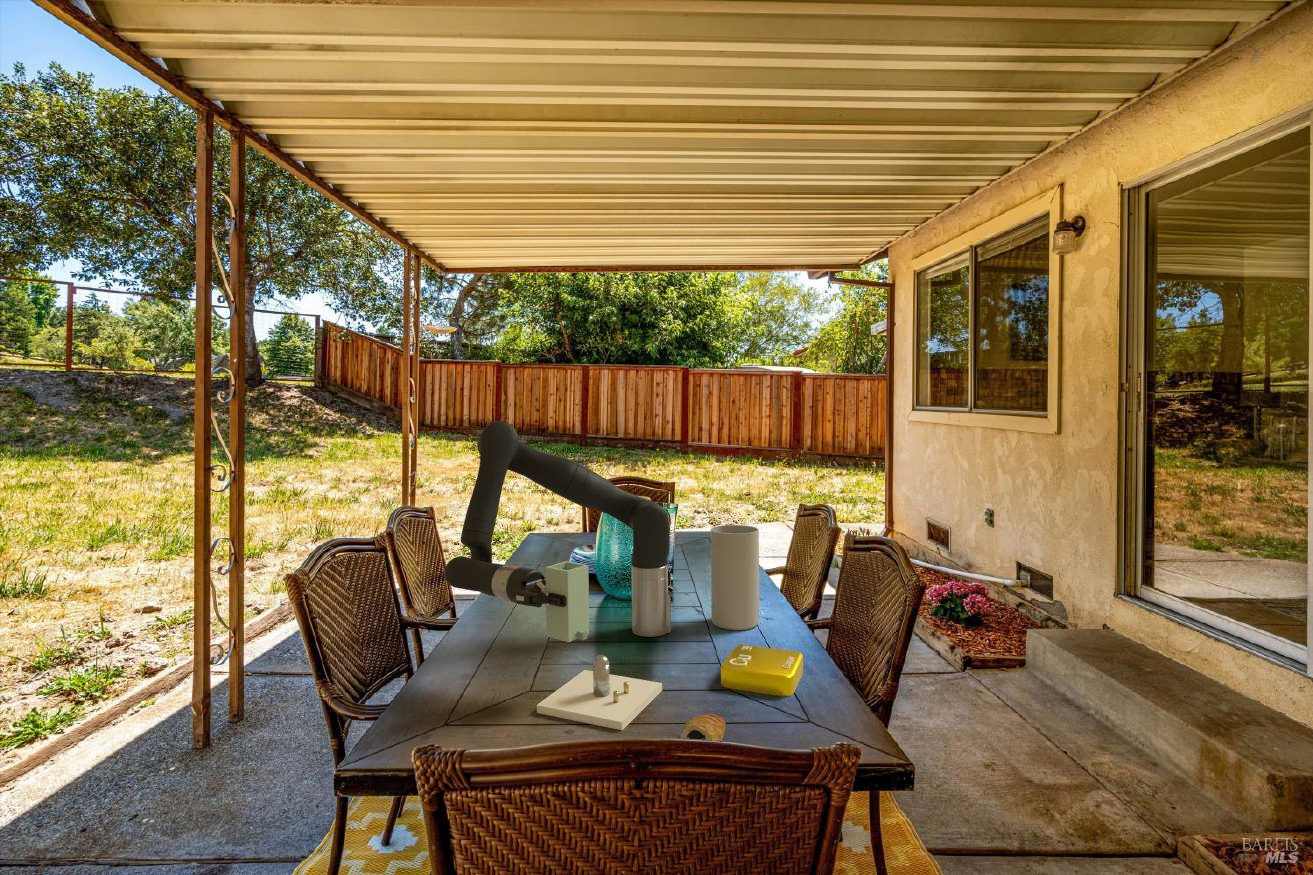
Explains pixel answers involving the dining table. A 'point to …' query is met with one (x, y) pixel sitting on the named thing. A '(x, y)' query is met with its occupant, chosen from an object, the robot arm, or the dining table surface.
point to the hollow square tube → (568, 601)
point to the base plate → (600, 697)
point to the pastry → (705, 728)
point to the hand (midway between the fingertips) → (576, 597)
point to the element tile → (762, 670)
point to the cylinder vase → (735, 577)
